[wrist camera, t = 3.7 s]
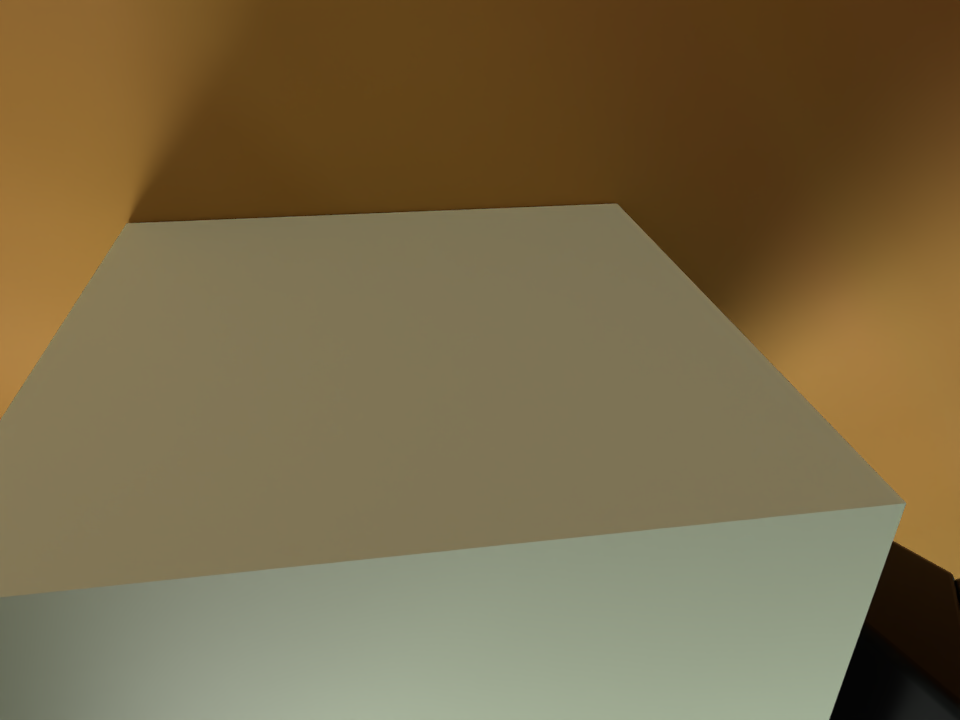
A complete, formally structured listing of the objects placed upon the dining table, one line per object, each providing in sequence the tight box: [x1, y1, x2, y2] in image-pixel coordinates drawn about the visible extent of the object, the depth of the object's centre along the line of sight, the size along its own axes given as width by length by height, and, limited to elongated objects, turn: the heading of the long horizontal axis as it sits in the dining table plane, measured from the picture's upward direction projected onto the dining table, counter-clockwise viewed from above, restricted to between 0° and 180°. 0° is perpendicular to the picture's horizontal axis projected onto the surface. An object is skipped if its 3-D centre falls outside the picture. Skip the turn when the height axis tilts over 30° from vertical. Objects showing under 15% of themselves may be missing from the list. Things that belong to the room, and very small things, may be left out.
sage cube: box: [0, 203, 906, 720], centre depth 7 cm, size 5×5×5 cm
